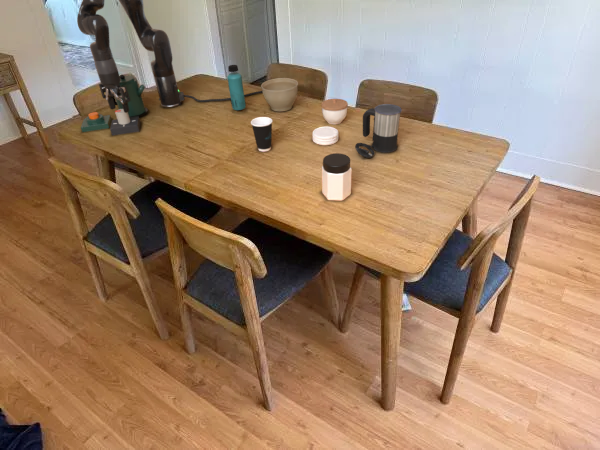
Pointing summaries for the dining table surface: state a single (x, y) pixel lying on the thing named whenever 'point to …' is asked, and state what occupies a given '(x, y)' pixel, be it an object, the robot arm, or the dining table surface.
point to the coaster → (325, 135)
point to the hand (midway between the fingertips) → (120, 110)
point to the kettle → (132, 97)
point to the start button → (93, 115)
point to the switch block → (96, 123)
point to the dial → (122, 117)
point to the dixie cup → (262, 132)
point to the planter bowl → (280, 93)
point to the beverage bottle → (236, 88)
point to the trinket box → (334, 110)
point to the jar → (336, 176)
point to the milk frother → (381, 129)
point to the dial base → (125, 126)
